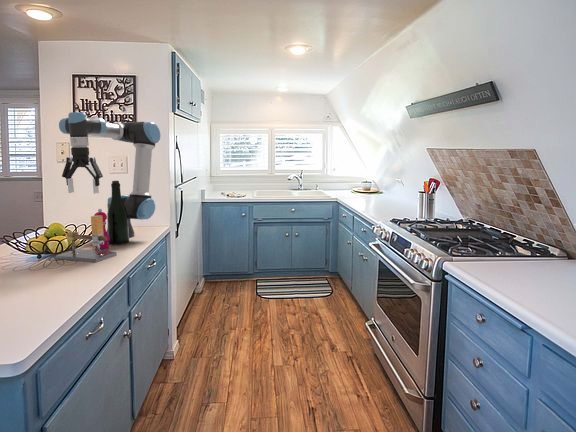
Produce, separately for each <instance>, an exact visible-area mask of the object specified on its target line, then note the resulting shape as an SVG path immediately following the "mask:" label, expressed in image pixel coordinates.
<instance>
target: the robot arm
mask: <svg viewBox="0 0 576 432" xmlns="http://www.w3.org/2000/svg"><path fill="white" fill-rule="evenodd" d="M58 129H59V130H60V132H61V133H62V134H65V135H69V140H70V146H71V148H70V153H71V157H66V159H65V160H66V161H65V162H66V163H65V165H64V168H63V171H62V174H61V177H62V178H65V181H66V186H67V190H68V191H67V193H69V194H71V193H75V189H74V188H75V187H74V178H72V176H74V173H75V172H76V171H77V169H78V168H84V169H86V170H87V171H88V173H89V174H90V175H91V177H92V187H93V194H99V193H100V191H99V187H100V185H101V184H100V179H101V178H103V177H104V175H103V173H102V172H101V170H100V167H99V165H98V164H97V161H96V160H97V159H96V157H90V148H89V147H88V146H89V145H90V144H89V143H90V142H89V136H93V137H98V138H99V137H103V138H109V139H110V138H111V139H112V140H114V141H119V142H125V143H131V144H132V145H133V146H134V148H135V155H134V170H133V181H132V184H133V185H132V191H131V192H130V193H129V194H123V195H122V194H121V198H122V201H123V203H124V206H125V208H126V210H127V216H128V228H129V238H132V237H134V236H135V230H134V228H133V225H132V222H131V219H132V220H139V221H140V220H141V221H142V220H143V221H144V220H149V219H150V218H151V217H153V215H154V213H155V211H156V203H155V201H154V199H153V198H152V195H151V193H150V182H151V171H152V170H151V169H152V168H151V167H152V156H153V155H152V154H153V150H154V149H155V148H156V144H157V143H159V141H160V140H161V131H160V128H159V126H158V125H157V124H156V123H155V122H154V121H146V120H145V121H127V122H113V123H109V122H106V120H105V119H103V118H102V117H98V116H97V117H92V116H91V117H88V116H87V113H86V112H82V111H81V112H78V111H77V112H76V111H74V112H73V111H72V112H68V117H65V118H64V117H63V118H62V119H60V120H59V121H58ZM111 197H112V196H110V197H108V198H107V203H106V204H107V209H108V208H109V205H110V202H111ZM106 232H107V234H108V227H107V228H106Z"/></svg>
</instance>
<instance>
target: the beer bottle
mask: <svg viewBox="0 0 576 432" xmlns="http://www.w3.org/2000/svg"><path fill="white" fill-rule="evenodd" d="M110 186H111V196H110V197H111V202H110V205H109V208H108V207H107V213H106V215H107V219H106V225H107V228H108V236H109V239H110V241H109V242H108V244H109V245H113V246H119V245H121V246H122V245H126V244H129V243H130V237H129V228H128V216H127V210H126V208H125V206H124V203H123V201H122V198H121V196H122V194H121V193H122V192H121V183H120V181H119V180H111V184H110Z"/></svg>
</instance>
